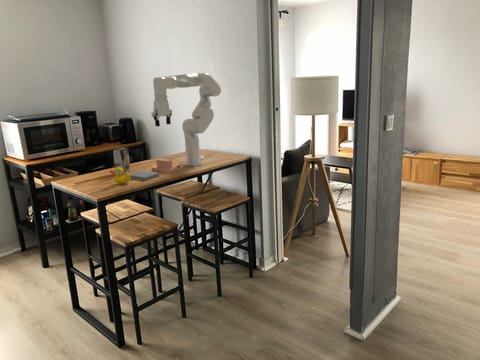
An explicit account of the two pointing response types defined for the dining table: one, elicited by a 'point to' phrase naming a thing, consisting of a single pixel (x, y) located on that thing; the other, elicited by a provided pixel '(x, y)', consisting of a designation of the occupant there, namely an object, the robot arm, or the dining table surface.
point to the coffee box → (122, 159)
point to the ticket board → (143, 175)
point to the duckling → (118, 177)
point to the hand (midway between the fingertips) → (163, 125)
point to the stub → (164, 166)
